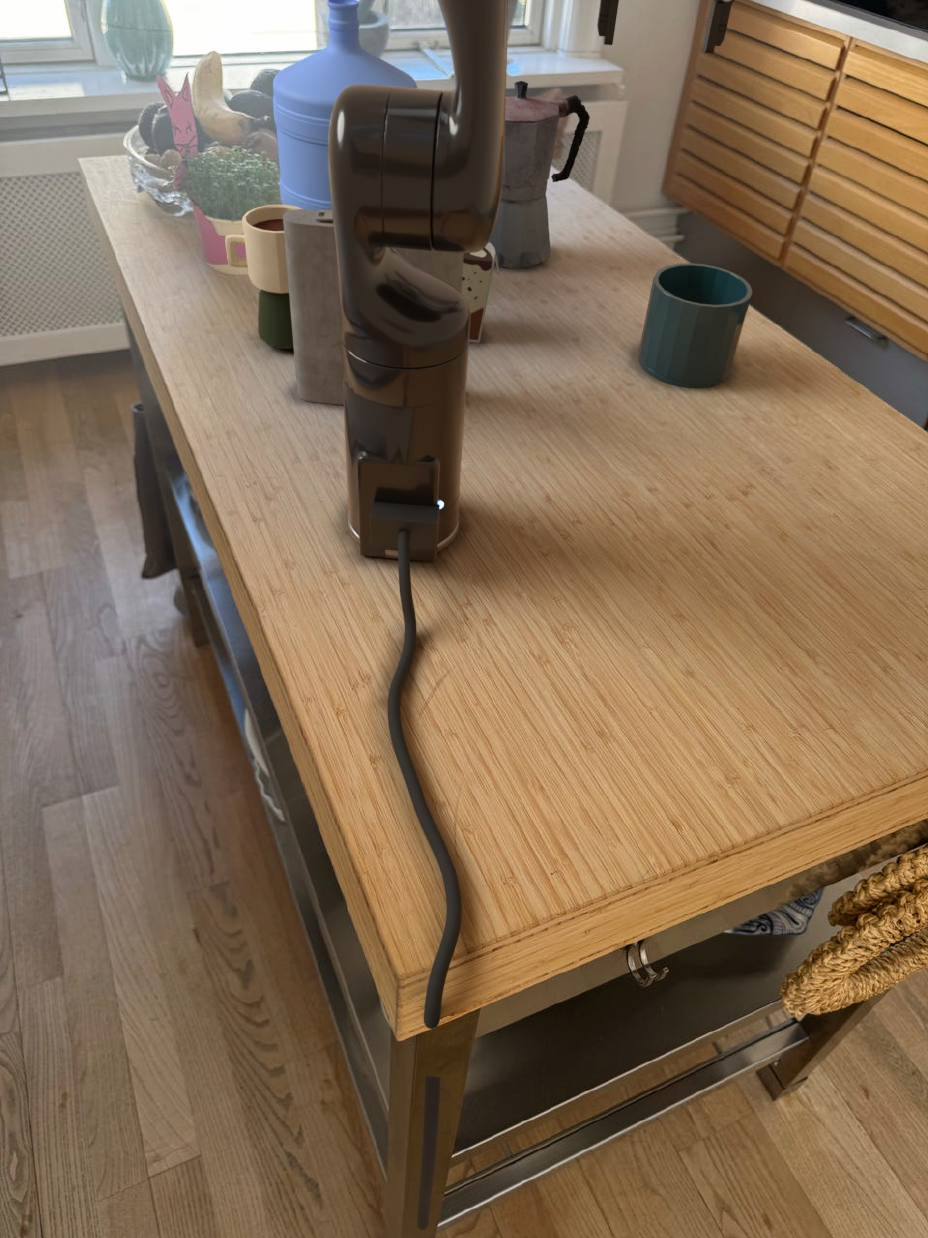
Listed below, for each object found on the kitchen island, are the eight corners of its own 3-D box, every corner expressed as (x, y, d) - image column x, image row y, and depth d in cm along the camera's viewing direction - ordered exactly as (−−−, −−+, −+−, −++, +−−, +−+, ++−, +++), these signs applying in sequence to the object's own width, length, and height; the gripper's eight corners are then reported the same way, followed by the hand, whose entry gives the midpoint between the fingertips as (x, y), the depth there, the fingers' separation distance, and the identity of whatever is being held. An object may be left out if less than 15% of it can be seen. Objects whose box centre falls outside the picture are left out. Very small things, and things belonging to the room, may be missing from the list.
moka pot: (447, 246, 120) (454, 72, 106) (551, 232, 125) (571, 64, 111) (479, 277, 114) (490, 97, 100) (587, 261, 119) (612, 87, 105)
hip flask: (455, 387, 95) (465, 184, 81) (457, 408, 93) (468, 202, 79) (298, 384, 94) (281, 178, 80) (295, 406, 91) (278, 196, 77)
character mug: (340, 324, 104) (335, 205, 95) (338, 356, 99) (332, 234, 90) (241, 322, 103) (226, 202, 94) (233, 355, 98) (217, 230, 89)
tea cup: (735, 391, 98) (759, 310, 92) (641, 383, 98) (657, 302, 92) (723, 345, 105) (744, 267, 99) (635, 337, 105) (650, 259, 99)
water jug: (436, 289, 111) (445, 16, 92) (310, 309, 106) (292, 23, 86) (387, 237, 121) (386, -19, 101) (269, 253, 116) (245, -14, 96)
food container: (497, 318, 107) (504, 230, 100) (493, 344, 102) (500, 254, 95) (390, 307, 107) (390, 219, 100) (382, 333, 103) (381, 243, 96)
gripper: (606, -212, 65) (575, 51, 77) (809, -196, 65) (747, 65, 76) (602, -217, 71) (573, 29, 82) (790, -203, 71) (735, 42, 82)
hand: (657, 46), depth 79 cm, fingers open, 8 cm apart
